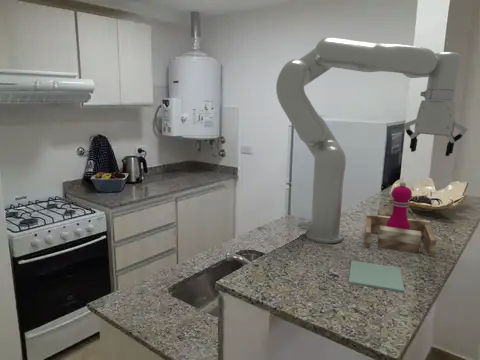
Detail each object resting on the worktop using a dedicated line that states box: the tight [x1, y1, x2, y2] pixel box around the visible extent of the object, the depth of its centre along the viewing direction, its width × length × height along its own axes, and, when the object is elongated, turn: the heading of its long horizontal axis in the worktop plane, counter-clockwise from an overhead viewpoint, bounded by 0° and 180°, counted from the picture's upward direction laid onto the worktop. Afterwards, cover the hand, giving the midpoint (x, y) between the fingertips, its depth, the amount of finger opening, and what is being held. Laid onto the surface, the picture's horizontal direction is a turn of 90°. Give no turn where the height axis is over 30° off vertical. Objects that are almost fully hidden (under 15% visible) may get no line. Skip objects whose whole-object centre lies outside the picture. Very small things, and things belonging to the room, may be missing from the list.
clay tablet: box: [377, 202, 417, 220], centre depth 147 cm, size 14×5×20 cm
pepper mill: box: [386, 181, 413, 230], centre depth 121 cm, size 7×7×20 cm
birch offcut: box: [378, 226, 422, 246], centre depth 117 cm, size 12×4×3 cm, turn 66°
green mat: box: [348, 260, 405, 293], centre depth 98 cm, size 13×13×1 cm
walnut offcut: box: [377, 234, 421, 253], centre depth 117 cm, size 12×4×3 cm, turn 70°
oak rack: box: [364, 213, 437, 257], centre depth 121 cm, size 20×16×6 cm
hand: (429, 153), depth 113 cm, fingers open, 9 cm apart
